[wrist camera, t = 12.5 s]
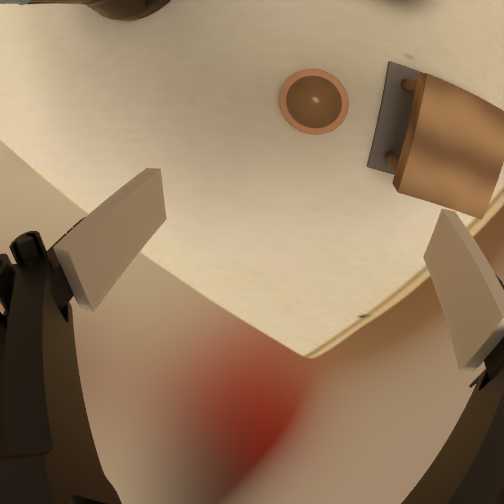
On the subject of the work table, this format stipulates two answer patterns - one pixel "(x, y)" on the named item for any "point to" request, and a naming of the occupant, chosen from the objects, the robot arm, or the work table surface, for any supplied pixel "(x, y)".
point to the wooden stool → (449, 147)
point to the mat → (392, 117)
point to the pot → (314, 101)
